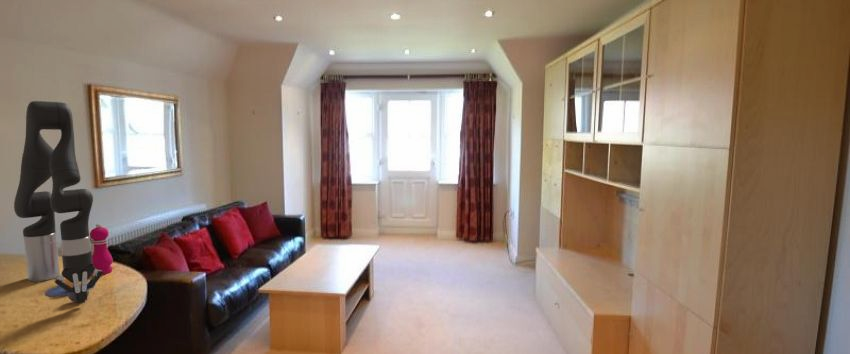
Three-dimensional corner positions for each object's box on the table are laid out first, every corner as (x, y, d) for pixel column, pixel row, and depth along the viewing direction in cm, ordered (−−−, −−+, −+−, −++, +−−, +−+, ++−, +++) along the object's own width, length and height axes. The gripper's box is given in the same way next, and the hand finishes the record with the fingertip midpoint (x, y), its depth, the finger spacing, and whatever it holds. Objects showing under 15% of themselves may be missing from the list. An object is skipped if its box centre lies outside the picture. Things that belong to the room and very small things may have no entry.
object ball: (61, 286, 150) (60, 295, 152) (81, 285, 153) (80, 294, 156) (62, 273, 153) (62, 282, 156) (82, 272, 156) (82, 281, 159)
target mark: (38, 291, 154) (38, 290, 154) (84, 279, 166) (84, 278, 166) (55, 299, 147) (55, 299, 147) (102, 286, 159) (102, 286, 159)
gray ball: (66, 292, 142) (67, 306, 143) (88, 290, 145) (88, 304, 146) (69, 282, 146) (69, 296, 148) (89, 281, 149) (89, 294, 151)
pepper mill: (101, 276, 170) (97, 226, 167) (86, 274, 171) (81, 225, 168) (118, 270, 177) (114, 222, 174) (103, 268, 178) (99, 220, 175)
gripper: (99, 244, 147) (103, 293, 150) (48, 252, 138) (53, 304, 140) (104, 249, 142) (108, 299, 145) (51, 258, 133) (57, 312, 135)
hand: (81, 302), depth 142 cm, fingers closed
